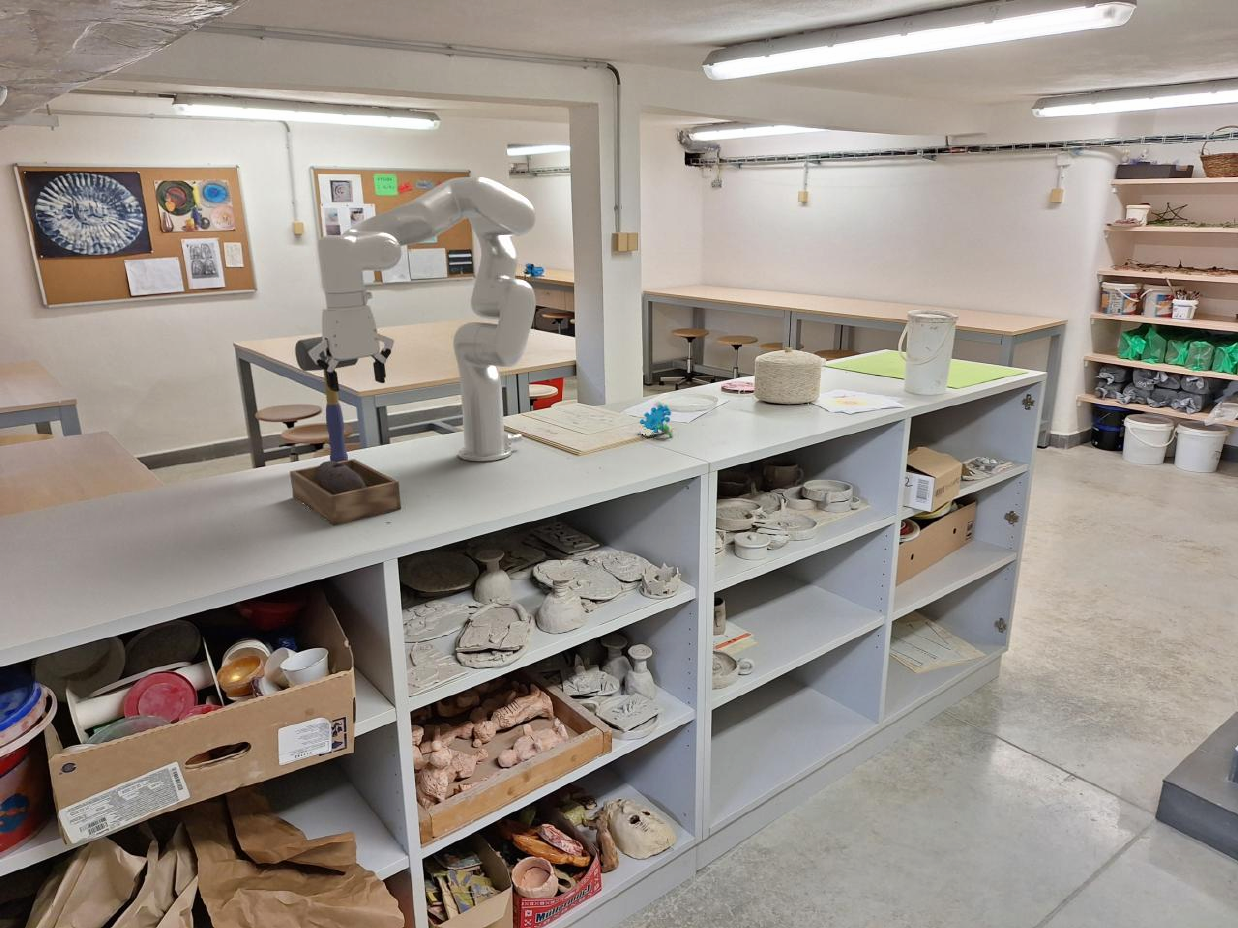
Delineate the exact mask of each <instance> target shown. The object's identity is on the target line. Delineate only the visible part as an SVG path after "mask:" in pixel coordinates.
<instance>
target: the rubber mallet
mask: <svg viewBox="0 0 1238 928" xmlns="http://www.w3.org/2000/svg"><path fill="white" fill-rule="evenodd" d="M322 341H323V338H322V336H317V337H310V338H305V339H300V340H297V342H296V344H295V348H294V354H295V358H296V362H297V366H298V367H299V369H300V370H301V371H303V372H311V371H312V372H313V371H323V379H324V389H325V397H326V407H325V422H326V424H325V425H326V429H327V433H328V434H327V435H328V436H329V437H328V439H329V447H330V455H329V461H335V462H341V461H346V460H349V456H348V453H347V449H346V443H345V429H344V428H345V423H344V415H343V411H342V407H341V404H340V403H339V394H338V393H339V391H338V392H335V391H332V390H330V388H329V387H328V385H327V380H326V373H325V370H323V369H322V368H321V367H319V366H318V365H317V364H315V362H314V360H313V359H312V358H311V356H310V355H309V353H308V352H309V351H310V350H311V349H312V348H314V347H315V346H317V345H318V344H319V343H321V342H322ZM319 356H320V357H321V359H322V360H323V361H326V359H327V357H326V356H325V354H324V351H322V352H321V353H320V354H319ZM358 361H359V358H357V359H351V360H344V361H339V362H338V364H337V365H336V367H335V369H334V371H335V372H336V369H341V368H345V367H346V368H347V367H350V366H351V367H352V366H355V365H356V364H357V363H358Z"/></svg>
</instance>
